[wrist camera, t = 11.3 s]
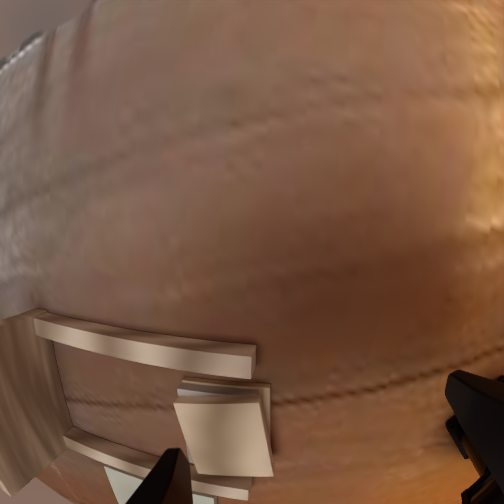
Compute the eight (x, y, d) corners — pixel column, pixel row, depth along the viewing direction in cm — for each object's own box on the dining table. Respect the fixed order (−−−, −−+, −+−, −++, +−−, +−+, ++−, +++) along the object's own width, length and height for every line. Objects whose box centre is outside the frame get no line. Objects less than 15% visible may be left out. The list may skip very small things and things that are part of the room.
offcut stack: (279, 381, 21) (274, 403, 18) (277, 459, 21) (273, 482, 18) (186, 374, 22) (171, 392, 19) (197, 450, 23) (185, 471, 20)
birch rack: (256, 342, 20) (202, 464, 8) (252, 486, 22) (221, 591, 10) (37, 308, 24) (-62, 342, 12) (67, 434, 25) (1, 489, 13)
